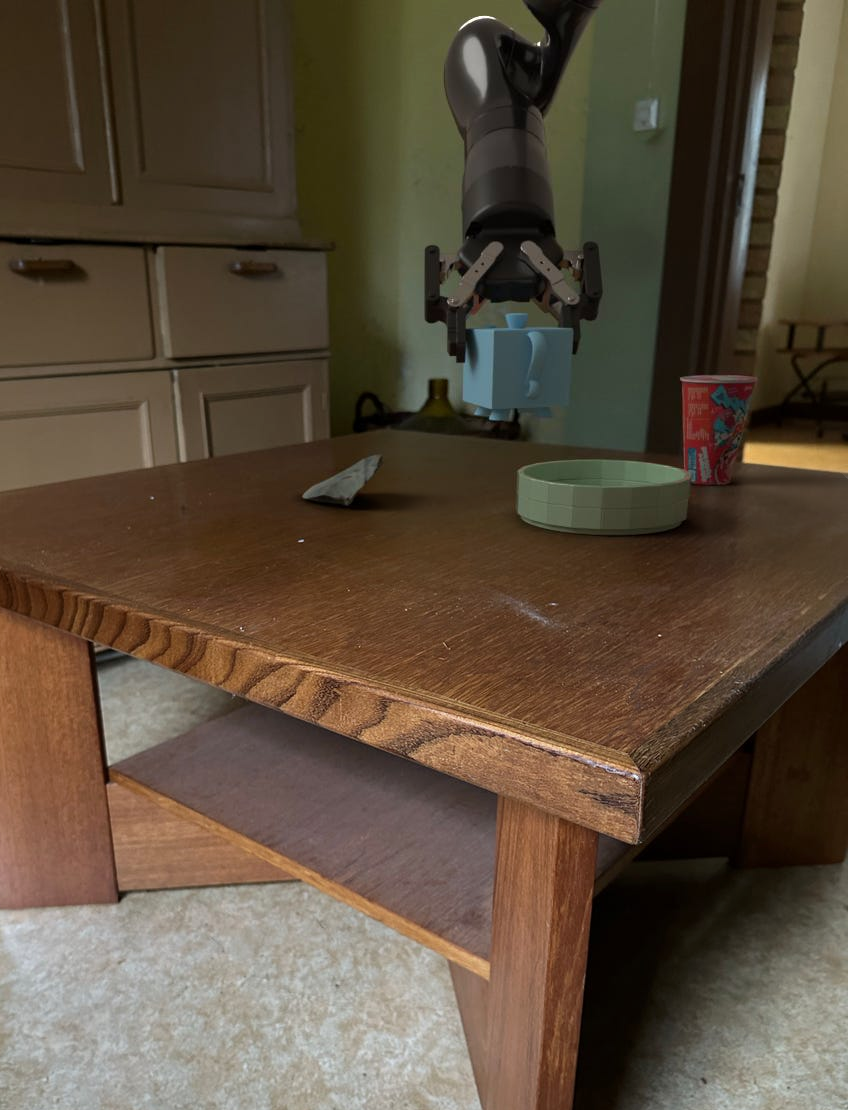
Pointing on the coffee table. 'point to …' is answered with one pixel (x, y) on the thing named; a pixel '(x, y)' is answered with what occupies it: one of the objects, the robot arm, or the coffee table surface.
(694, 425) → the cup
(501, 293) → the robot arm
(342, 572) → the coffee table surface
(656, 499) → the serving bowl
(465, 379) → the teapot
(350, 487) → the stone
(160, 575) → the coffee table surface
